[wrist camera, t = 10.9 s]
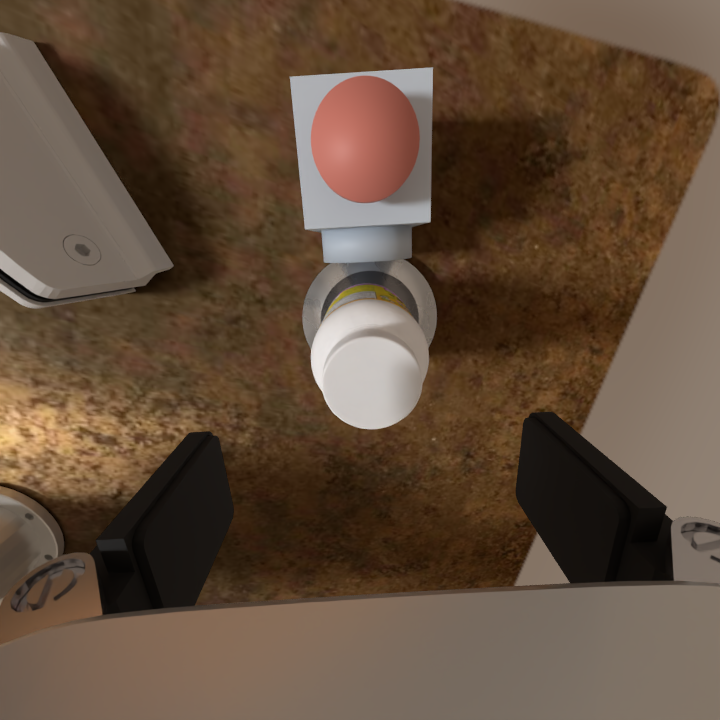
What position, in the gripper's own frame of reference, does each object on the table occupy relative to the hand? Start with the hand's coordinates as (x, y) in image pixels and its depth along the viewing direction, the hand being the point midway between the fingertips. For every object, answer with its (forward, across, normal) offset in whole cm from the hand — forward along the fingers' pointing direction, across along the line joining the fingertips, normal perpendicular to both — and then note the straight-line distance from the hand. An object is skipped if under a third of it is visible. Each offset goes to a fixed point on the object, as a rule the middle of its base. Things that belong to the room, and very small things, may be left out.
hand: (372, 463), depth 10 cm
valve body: (+19, -1, -11) cm, 22 cm away
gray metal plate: (+20, -1, 0) cm, 20 cm away
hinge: (+20, +21, -12) cm, 32 cm away
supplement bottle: (+19, -1, 0) cm, 19 cm away
